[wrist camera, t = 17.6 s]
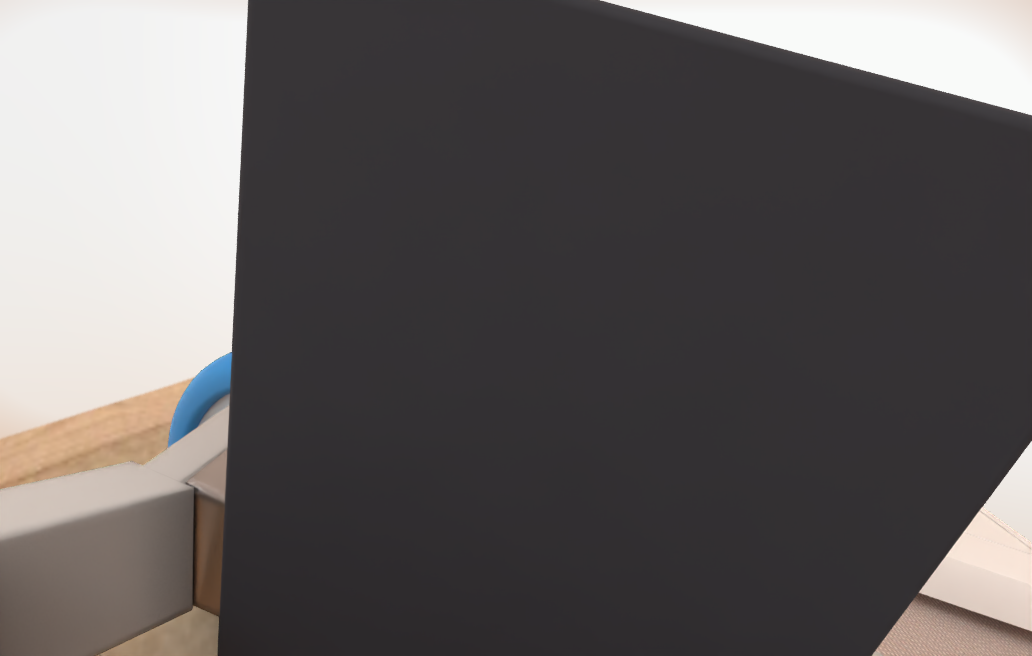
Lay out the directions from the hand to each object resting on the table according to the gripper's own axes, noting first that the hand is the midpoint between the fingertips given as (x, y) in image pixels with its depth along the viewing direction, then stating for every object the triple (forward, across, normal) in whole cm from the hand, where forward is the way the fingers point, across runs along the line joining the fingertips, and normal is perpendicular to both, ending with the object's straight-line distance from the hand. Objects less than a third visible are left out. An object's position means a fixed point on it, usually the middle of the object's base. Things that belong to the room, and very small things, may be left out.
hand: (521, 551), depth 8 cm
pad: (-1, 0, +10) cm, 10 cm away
